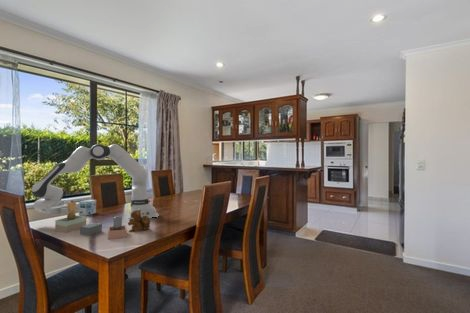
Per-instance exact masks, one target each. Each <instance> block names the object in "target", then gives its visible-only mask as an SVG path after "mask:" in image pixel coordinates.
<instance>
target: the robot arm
mask: <svg viewBox="0 0 470 313" xmlns="http://www.w3.org/2000/svg"><path fill="white" fill-rule="evenodd" d="M106 158H110V159H112V161H114V162H115V163H116V164H117V165H118V166H119V167H120V168H122V169H123V171H125V173H126V174H127V175H128V176H129V177H130V178H132V180H131V199H130V210H129V215H128V218H129V220H130V219H134V218H132V217H131V213H132V212H133V211H135V210H141V211H140V213H141V217H143V216H148V217H149V218H150V219H153V218H152V217H157V218H159V217H160V214H159V213H158V212H157V209H156V207H154V206H153V205H152V204H151V199H149V198H148V197H147V196H148V194H147V193H148V171H147V169H146V168H144V166H142V165H141V164H140V163H139V162H138V161H137V160H136V159H135V158H134V157H133V156H132V155H131V154H130V153H128V152H127V151H126V149H124V148H123V147H121V146H120V145H119V144H118V143H113V144H111V145H105V144H102V143H101V144H100V143H96V144H94V145H92V146H91V148H90V147H89V148H88V147H86V146H79V147H78V148H76V149H75V150H74V151H73V152H72V153H71V154H70V156H69V157H68V158H67V159H65V160H64V161H62V162H59V163H58V164H56V165H55V166H53V168H51V169H50V170H49V171H48V172H47V173H46V174H45V175H44V176H43V177H42V178H41V179H40V180H38V181H37V182H35V183H34V184H33V185H32V187H31V189H30V190H31V191H30V192H31V194H32V196H33V197H35V198H39V199H37V200H35V201H34V203H33V208H34V210H36V211H37V212H40V213H43V214H47V215H59V214H61V213H65V212H66V213H67V211H69V208H68V202H70V201H71V200H62V199H63V197H64V190H63V188H61V187H59V186H56V185H52V184H51V183H52V182H53V181H55V179H56V178H57V177H58V176H60V175H61V174H66V173H67V174H69V173H70V174H74V173H79V172H81V171H82V170H83V169H84V167H86V164H87V163H88V162H89V161H90V160H91V159H92V160H96V161H103V160H105V159H106ZM75 202H76V211H77V210H79V208H80V203H79V202H77V201H75ZM158 216H159V217H158Z"/></svg>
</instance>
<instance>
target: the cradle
mask: <svg viewBox="0 0 470 313" xmlns="http://www.w3.org/2000/svg"><path fill="white" fill-rule="evenodd" d="M102 228H103V224H102V223H96V222H91V223H88V224H87V223H86V225H84V226H81V227H80V229H79V235H84V236H92V235H95V234H97V233H101V232H102V230H103V229H102Z"/></svg>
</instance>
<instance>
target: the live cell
mask: <svg viewBox="0 0 470 313" xmlns="http://www.w3.org/2000/svg"><path fill="white" fill-rule="evenodd" d="M69 201H70V202H68V208H69V211H67V212H66V213H67V214H66V218H67V220H74V219H75V216H76V211H77V210H76V202H77V201H74V200H69Z"/></svg>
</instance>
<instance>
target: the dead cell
mask: <svg viewBox="0 0 470 313" xmlns="http://www.w3.org/2000/svg"><path fill="white" fill-rule="evenodd" d="M122 219H123V217H122V216H121V215H116V216H114V217H113V223H112V224H113V225H112V227H113V231H114V230H121V227H122V226H123V224H122V221H123V220H122Z"/></svg>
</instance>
